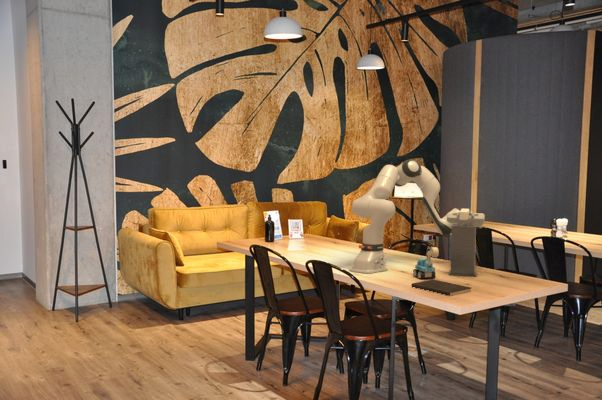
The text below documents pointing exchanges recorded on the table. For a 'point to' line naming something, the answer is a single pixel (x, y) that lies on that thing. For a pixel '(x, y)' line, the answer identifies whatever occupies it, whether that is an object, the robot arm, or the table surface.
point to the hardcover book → (441, 287)
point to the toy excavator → (426, 265)
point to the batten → (464, 214)
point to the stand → (463, 250)
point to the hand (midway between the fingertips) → (465, 212)
